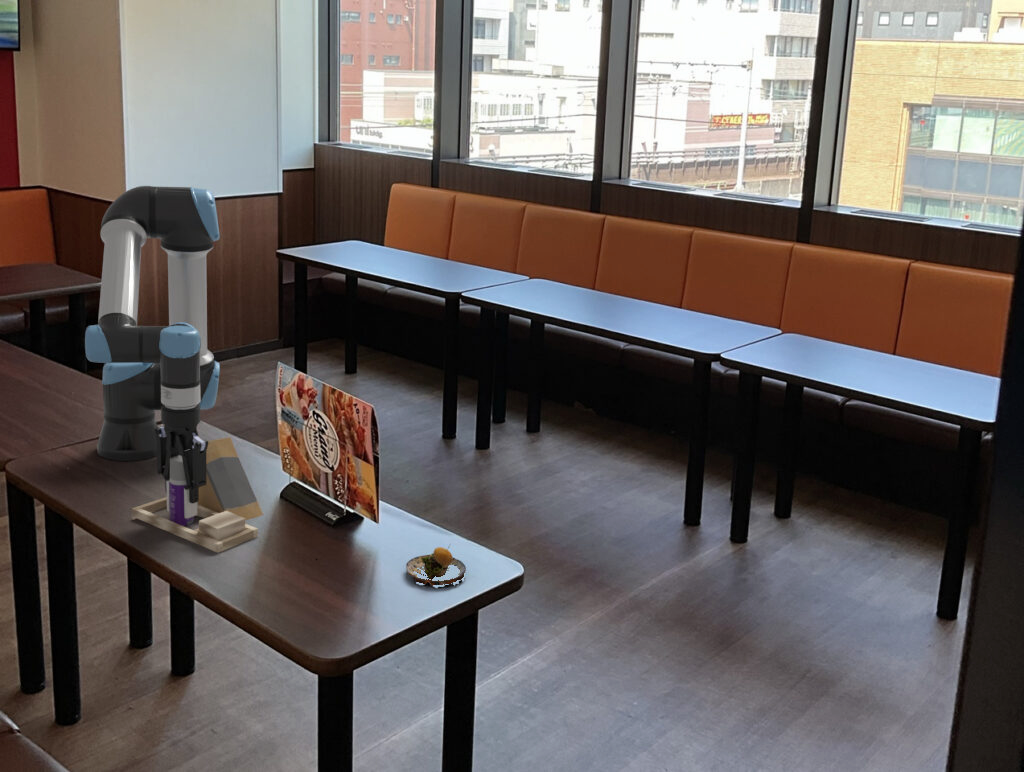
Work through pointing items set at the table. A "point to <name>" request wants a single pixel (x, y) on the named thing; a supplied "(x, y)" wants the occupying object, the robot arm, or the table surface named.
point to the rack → (194, 536)
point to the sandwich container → (227, 482)
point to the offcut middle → (223, 536)
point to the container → (178, 492)
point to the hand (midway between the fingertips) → (182, 512)
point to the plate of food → (435, 566)
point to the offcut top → (221, 524)
